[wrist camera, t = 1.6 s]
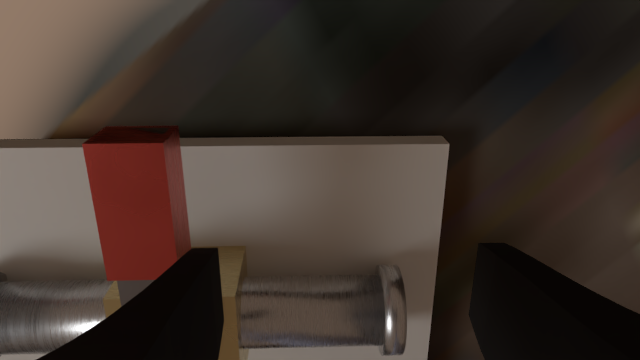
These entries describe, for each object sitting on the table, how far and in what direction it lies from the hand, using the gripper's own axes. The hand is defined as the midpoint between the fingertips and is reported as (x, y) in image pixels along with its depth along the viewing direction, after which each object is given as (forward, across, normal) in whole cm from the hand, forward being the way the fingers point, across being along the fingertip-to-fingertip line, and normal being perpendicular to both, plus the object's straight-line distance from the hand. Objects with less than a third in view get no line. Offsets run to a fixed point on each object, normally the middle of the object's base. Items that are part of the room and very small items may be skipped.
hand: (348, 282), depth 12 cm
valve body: (+10, +6, +6) cm, 14 cm away
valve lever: (+5, +6, +3) cm, 8 cm away
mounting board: (+10, +6, +6) cm, 14 cm away
